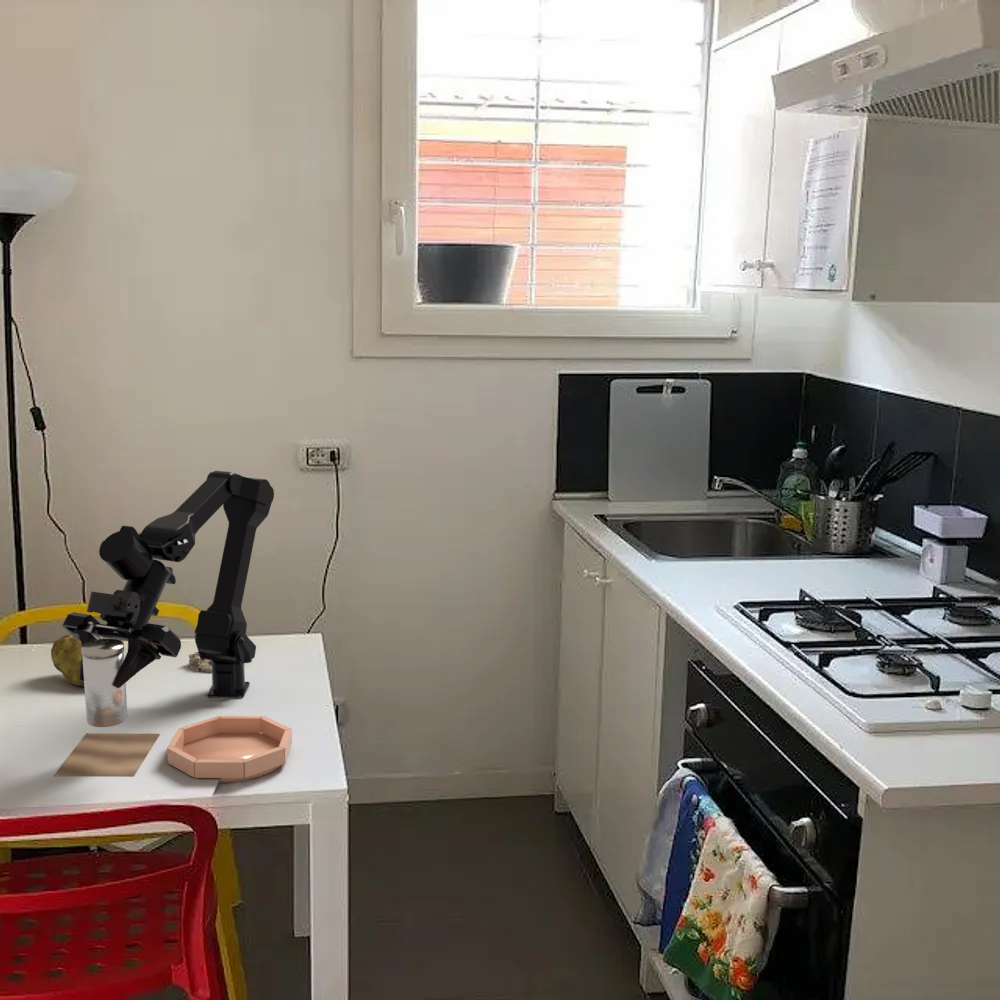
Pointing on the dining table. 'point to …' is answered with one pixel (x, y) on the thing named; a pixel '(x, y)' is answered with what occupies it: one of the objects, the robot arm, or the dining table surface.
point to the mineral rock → (200, 663)
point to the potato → (68, 658)
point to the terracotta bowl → (230, 747)
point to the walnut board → (108, 754)
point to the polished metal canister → (104, 682)
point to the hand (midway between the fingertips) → (99, 683)
